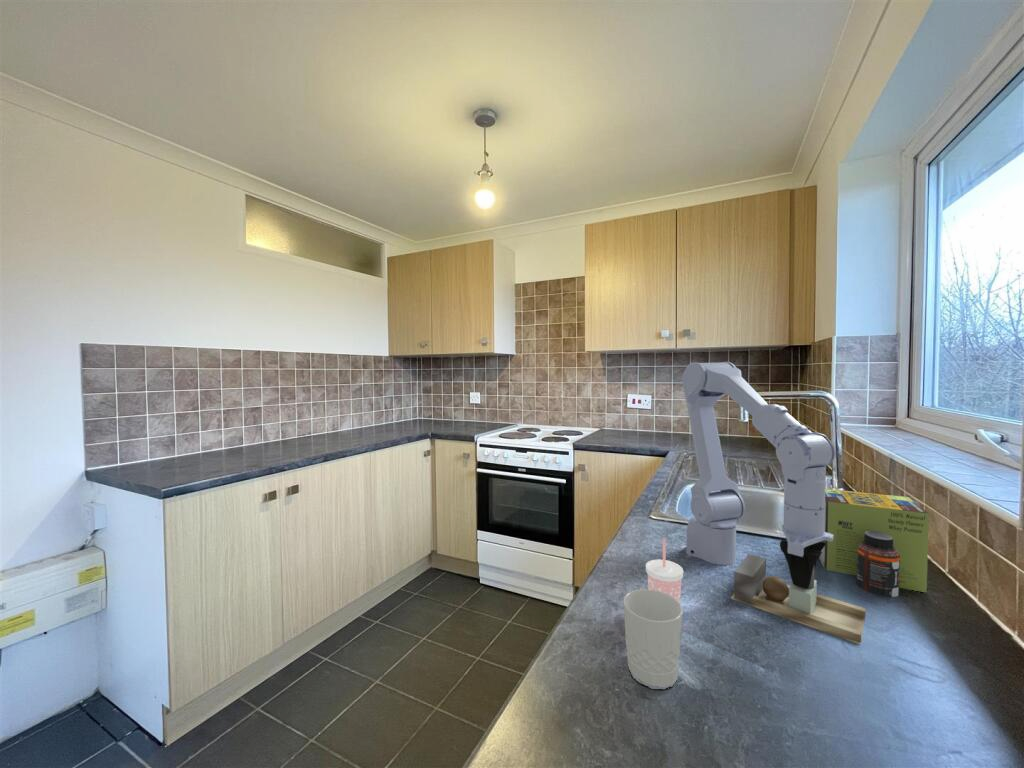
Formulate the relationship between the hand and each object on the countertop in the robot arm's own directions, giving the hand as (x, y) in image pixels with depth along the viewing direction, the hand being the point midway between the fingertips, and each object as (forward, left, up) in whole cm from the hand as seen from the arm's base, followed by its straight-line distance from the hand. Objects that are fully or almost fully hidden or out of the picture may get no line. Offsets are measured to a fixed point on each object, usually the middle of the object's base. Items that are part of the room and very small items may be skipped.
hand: (802, 581), depth 70 cm
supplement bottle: (+9, +17, -6) cm, 20 cm away
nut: (-4, 0, -5) cm, 6 cm away
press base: (-1, 0, -6) cm, 6 cm away
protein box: (+7, +26, -6) cm, 28 cm away
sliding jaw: (0, 0, -4) cm, 4 cm away
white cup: (-13, -30, -6) cm, 33 cm away
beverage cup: (-17, -17, -6) cm, 25 cm away
